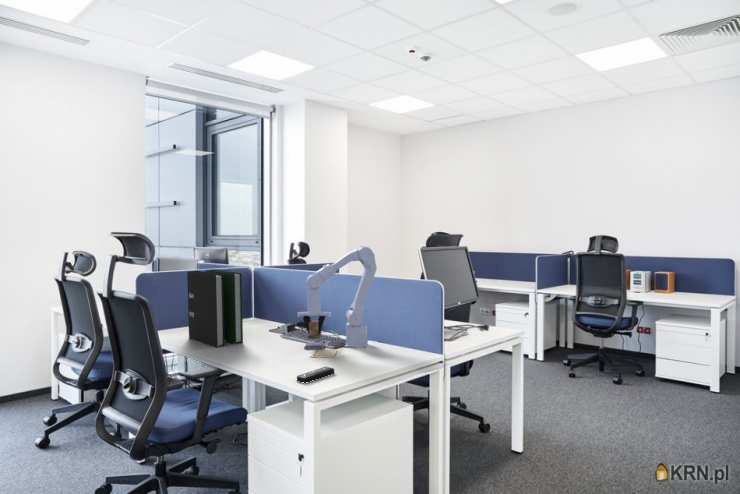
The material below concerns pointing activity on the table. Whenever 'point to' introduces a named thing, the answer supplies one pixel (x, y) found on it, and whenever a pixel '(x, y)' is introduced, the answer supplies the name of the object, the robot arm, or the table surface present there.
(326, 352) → the card
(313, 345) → the pad
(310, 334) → the stamp
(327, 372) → the multiport hub
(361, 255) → the robot arm
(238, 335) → the binders
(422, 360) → the table surface
